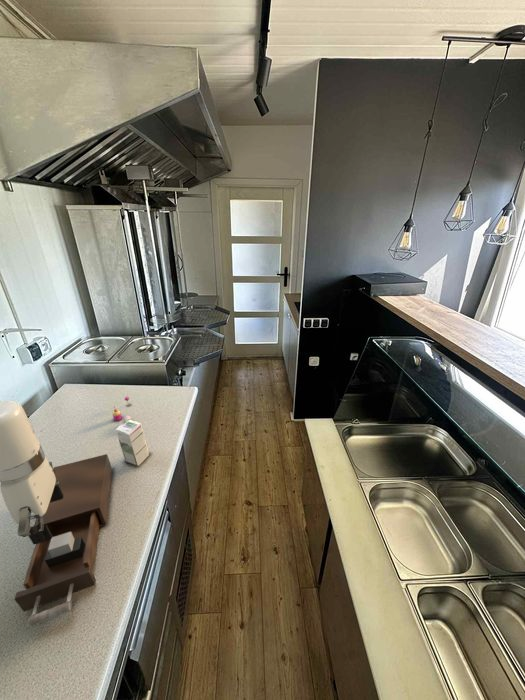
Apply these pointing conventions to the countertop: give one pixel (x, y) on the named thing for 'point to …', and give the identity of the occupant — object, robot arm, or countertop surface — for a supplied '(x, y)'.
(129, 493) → the countertop surface
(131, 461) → the syrup box
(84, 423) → the countertop surface
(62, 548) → the two-tone rectangular prism
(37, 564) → the drawer
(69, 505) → the cabinet
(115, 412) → the candy
